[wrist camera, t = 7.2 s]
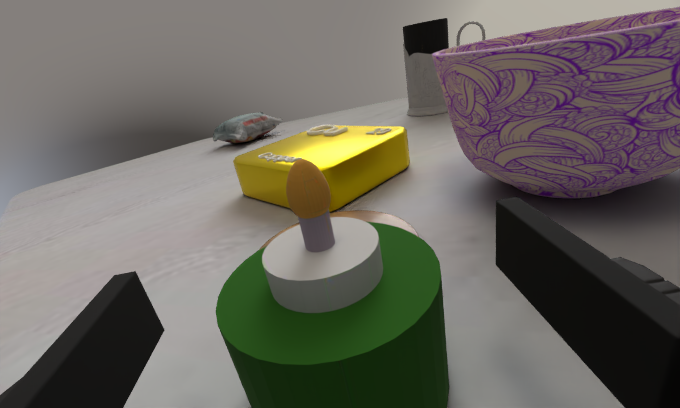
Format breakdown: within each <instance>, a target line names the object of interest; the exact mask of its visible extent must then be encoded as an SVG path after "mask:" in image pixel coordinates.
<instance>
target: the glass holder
mask: <svg viewBox="0 0 680 408" xmlns="http://www.w3.org/2000/svg"><path fill="white" fill-rule="evenodd" d="M469 24H476V25H478V26H480V28H481V30H482V36H483V39H482V41H484V40H485V30H484V28H483V26H482V25H481V24H479V23H478V22H474V21H473V22H468V23H466V24H464V25H463V26H462V27H461V28H460V30H459V31H458V35H457V46H459V40H460V34H461V32H462V30H463V28H464V27H465V26H466V25H469ZM403 34H404V44H403V46H404V57H405V68H406V79H407V90H408V101H409V109H408V112H407V114H408V115H410V116H428V115H435V114H441V113H445V112H448V110H447V106H446V103H445V99H444V95H443V92H442V88H441V85H440V82H439V79H438V75H437V72H436V68H435V65H434V61H433V58H432V54H433V53H435V52H438V51H441V50H444V49H448V47H449V46H448V25H447V18H444V19H438V20H432V21H427V22H422V23H417V24H413V25H408V26H405V27H403Z"/></svg>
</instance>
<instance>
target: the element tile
mask: <svg viewBox="0 0 680 408" xmlns="http://www.w3.org/2000/svg"><path fill="white" fill-rule="evenodd" d="M300 159H307V160H309V161H311V162H312V163H314V164H315V165H316V166H317V167H318V168H319V169H320V171H321V172H322V173H323V175H324V177H325V179H326V181H327V183H328V185H329V189H330V194H331V202H330V206H329V212H332V211H335V210H337V209H339V208H341V207H343V206H344V205H346V204H348V203H349V202H351V201H353V200H354V199H356V198H358V197H359V196H361V195H363V194H364V193H366V192H368V191H369V190H371V189H373V188H374V187H376V186H378V185H379V184H381V183H383V182H384V181H386V180H388V179H389V178H391V177H393V176H394V175H396V174H398V173H399V172H401V171H403V170H404V169H406V168H407V167H408V165H409V163H410V160H409V149H408V139H407V131H406V129H405V128H404V127H394V126H335V125H333V124H328V125H321V126H317V127H314V128H311V129H309V130H307V131H305V132H302V133H299V134H297V135H294V136H291V137H288V138H286V139H283V140H280V141H277V142H275V143H272V144H269V145H266V146H264V147H261V148H258V149H255V150H253V151H250V152H247V153H245V154H242V155H239V156H237V157H235V159H234V161H233V163H234V166H235V169H236V172H237V175H238V179H239V182H240V185H241V188H242V191H243V193H244V195H246V196H248V197H252V198H255V199H259V200H262V201H266V202H269V203H273V204H277V205H280V206H284V207H287V208H290V206H289V203H288V199H287V194H286V184H287V177H288V173H289V171H290V168H291V167H292V165H293V164H294V162H296V161H297V160H300Z"/></svg>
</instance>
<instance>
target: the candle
mask: <svg viewBox="0 0 680 408" xmlns="http://www.w3.org/2000/svg"><path fill="white" fill-rule="evenodd" d="M286 194H287V199H288V203H289V206H290V208H291V209H292V211H293V212H294V213H295V214H296V215H297V216H298V219H299V223H300V225H297V226H295V227H293V228H290V229H288V230H287V231H285V232H283V233H281V234H280V235H279V236H277V237H276V238H275V239H273V240H272V241H271V242H270V243H269V244H268V245H267V246H265V247H264V248H262V249H260V250H258V251H257V252H256V253H254V254H253V255H252V256H250V257H249V258H248V259H246V260H245V261H244V262H243V263H242V264H241V265H240V266H239V267H238V268H237V269H236V270H235V271H234V272H233V273H232V274H231V276H230V277H229V278H228V280H227V281H226V282H225V284H224V286H223V288H222V290H221V292H220V294H219V296H218V301H217V307H216V316H217V323H218V327H219V329H220V331H221V334H222V336H223V339H224V341H225V344H226V346H227V349H228V351H229V353H230V356H231V358H232V361H233V363H234V366H235V368H236V370H237V373H238V375H239V378H240V380H241V383H242V385H243V388H244V390H245V392H246V395H247V397H248V400H249V402H250V405H251V407H252V408H447V402H448V393H449V379H448V365H447V351H446V337H445V323H444V309H443V295H442V281H441V271H440V264H439V261H438V259H437V257H436V255H435V253H434V251H433V249H432V248H431V247H430V246H429V245H428V244H427V243H426V242H425V241H424V240H422V239H421V238H419V237H418V236H416V235H415V234H413V233H411V232H409V231H406V230H404V229H402V228H399V227H395V226H392V225H388V224H383V223H375V222H365V221H363V220H359V219H355V218H348V217H331V218H330V214H329V206H330V202H331V194H330V189H329V185H328V183H327V181H326V179H325V177H324V175H323V173H322V172H321V171H320V169H319V168H318V167H317V166H316V165H315V164H314V163H312V162H311V161H309V160H307V159H300V160H297V161H296V162H294V164H293V165H292V167H291V168H290V171H289V173H288V177H287V184H286Z"/></svg>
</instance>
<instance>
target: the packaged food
mask: <svg viewBox="0 0 680 408" xmlns="http://www.w3.org/2000/svg"><path fill="white" fill-rule="evenodd" d="M281 122H282V118H273V117H270V116H268V115H265V114H263V113H262V112H260V113H252V114H247V115H241V116H237V117H235V118H232V119H230V120H228V121H225V122H224V123H222V124H221V125H219V126H218V127H217V128H216V129H215V132H214V134H213V135H214V137H213V140H214V141H217V140H221V141H225V142H229V143H241V142H247V141H251V140H255V139H257V138H259V137H261V136H263V135H265V134H266V133H268V132H270V131H271V130H273V129H274V128H275V127H276V126H277V125H279V124H280V123H281Z"/></svg>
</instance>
